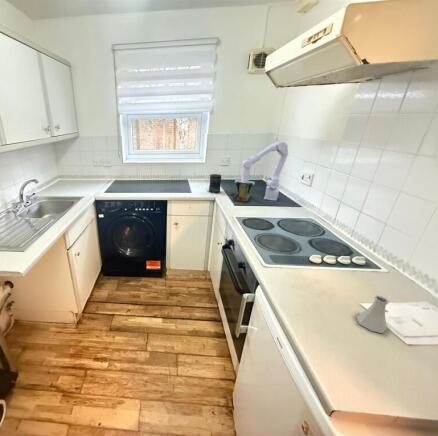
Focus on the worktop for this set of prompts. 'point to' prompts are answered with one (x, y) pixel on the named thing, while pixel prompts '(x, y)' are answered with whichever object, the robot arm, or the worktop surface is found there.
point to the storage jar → (215, 183)
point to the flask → (375, 315)
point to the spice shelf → (240, 199)
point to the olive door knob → (243, 190)
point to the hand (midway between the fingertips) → (243, 192)
